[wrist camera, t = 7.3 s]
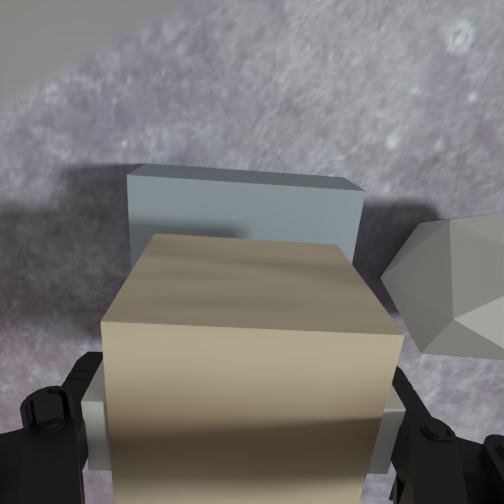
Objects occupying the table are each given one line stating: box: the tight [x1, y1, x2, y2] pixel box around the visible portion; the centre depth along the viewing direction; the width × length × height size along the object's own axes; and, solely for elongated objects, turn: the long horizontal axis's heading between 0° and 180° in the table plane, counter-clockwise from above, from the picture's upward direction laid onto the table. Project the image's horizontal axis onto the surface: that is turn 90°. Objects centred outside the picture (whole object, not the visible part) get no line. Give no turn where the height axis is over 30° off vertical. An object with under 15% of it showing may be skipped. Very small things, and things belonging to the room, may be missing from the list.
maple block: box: [101, 233, 405, 504], centre depth 14 cm, size 8×8×7 cm
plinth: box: [127, 164, 365, 271], centre depth 23 cm, size 12×12×4 cm
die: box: [380, 212, 504, 360], centre depth 21 cm, size 8×9×10 cm
